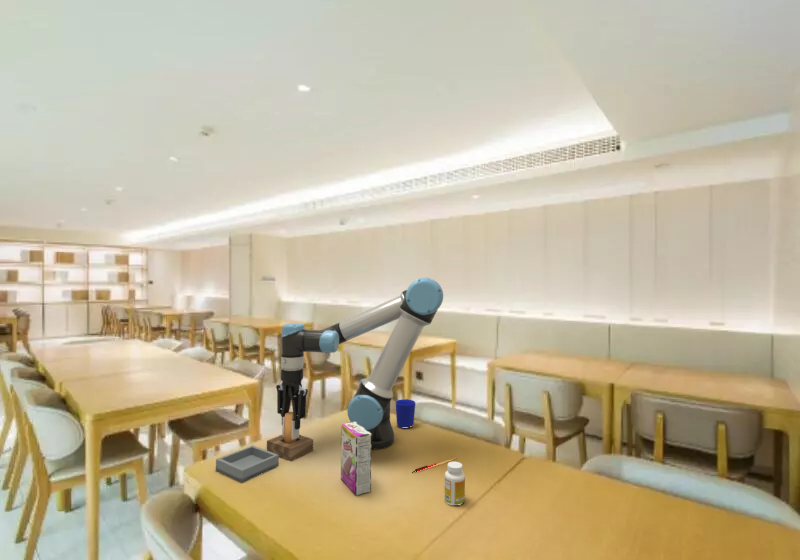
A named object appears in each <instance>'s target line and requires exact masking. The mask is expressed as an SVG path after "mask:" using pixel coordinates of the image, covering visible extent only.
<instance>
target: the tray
mask: <svg viewBox="0 0 800 560" xmlns="http://www.w3.org/2000/svg"><path fill="white" fill-rule="evenodd" d="M279 458H280V457H279V455H277V454H275V453H272V452H269V451H267V449H264V448H261V447H258V446H256V445H253V444H252V445H250V446H247V447H245V448H242V449H239V450H236V451H234V452H231V453H229V454H228V453H227V454H226V455H224V456H221V457H218V458H216V459H215V472H218V473H219V474H221V475H225V476H226V477H228V478H231V479H233V480H235V481H237V482H239V483H241V484H243V483H246V482H247V481H250V480H251V478H252V479H254V478H256V477H258V476H260V475H262V474H264V472H265V473H267V472H269V471H272V470H274V469H276V468H277V466H278V467H279V460H280V459H279ZM266 471H267V472H266ZM261 473H262V474H261ZM259 474H260V475H259ZM257 475H258V476H257ZM255 476H256V477H255ZM253 477H254V478H253Z"/></svg>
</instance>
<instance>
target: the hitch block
mask: <svg viewBox="0 0 800 560" xmlns="http://www.w3.org/2000/svg"><path fill="white" fill-rule="evenodd" d="M284 438H285V436H284V437H283V436H282V434H280V435H278V436H275V437H272V438H270V439H268V440H266V450H267V451H269V452H272V453H275V454H277V455H279V458H281V459H283V460H285V461H288V462H293V461H295V460H297V459H299V458H301V457H303V456H306V455H308V454H310V453H312V452H313V451H314V438H310V437H307V436H305V435H301V434H299V438H297V439H296V442H294V443H291V444H288V443H285V442H284Z"/></svg>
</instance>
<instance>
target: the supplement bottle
mask: <svg viewBox="0 0 800 560" xmlns="http://www.w3.org/2000/svg"><path fill="white" fill-rule="evenodd" d="M446 466H447V467H446V468H447V470H446V471H445V472H444V498H443V499H444V502H445V501H446V502H447V503H449V504H452V505H458V504H461V503H463V502H464V501H465V499H466V497H465V496H466V495H465V494H466V491H465V489H466V484H465V483H466V475H465V473H464V472H463V464H462V463H461V462H458V461H450V462H447V465H446ZM446 502H445V503H446ZM447 503H446V504H447ZM464 503H465V502H464ZM449 504H448V505H449Z"/></svg>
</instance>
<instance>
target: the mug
mask: <svg viewBox="0 0 800 560" xmlns="http://www.w3.org/2000/svg"><path fill="white" fill-rule="evenodd" d="M415 410H416V401H415V400H412V399H408V398H405V399H397V400H396V401H395V413H396V414H395V415H396V416H395V417H396V425H397V427H398V426H399V427H398V428H400V427H410V426H412V425H413V426H414V421H415V413H416V412H415ZM413 426H412V427H413Z"/></svg>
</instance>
